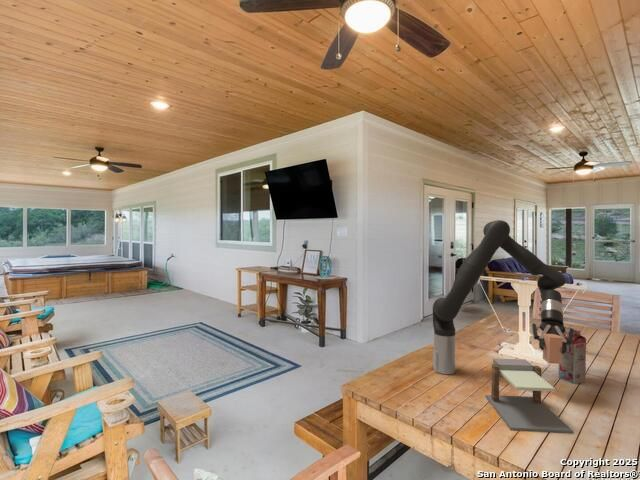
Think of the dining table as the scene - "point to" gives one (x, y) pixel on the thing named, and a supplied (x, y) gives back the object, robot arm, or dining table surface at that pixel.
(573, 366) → the juice carton
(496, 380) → the posts
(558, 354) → the brick
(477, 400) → the dining table surface
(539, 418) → the mat
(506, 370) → the trapdoor
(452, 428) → the dining table surface
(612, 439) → the dining table surface
